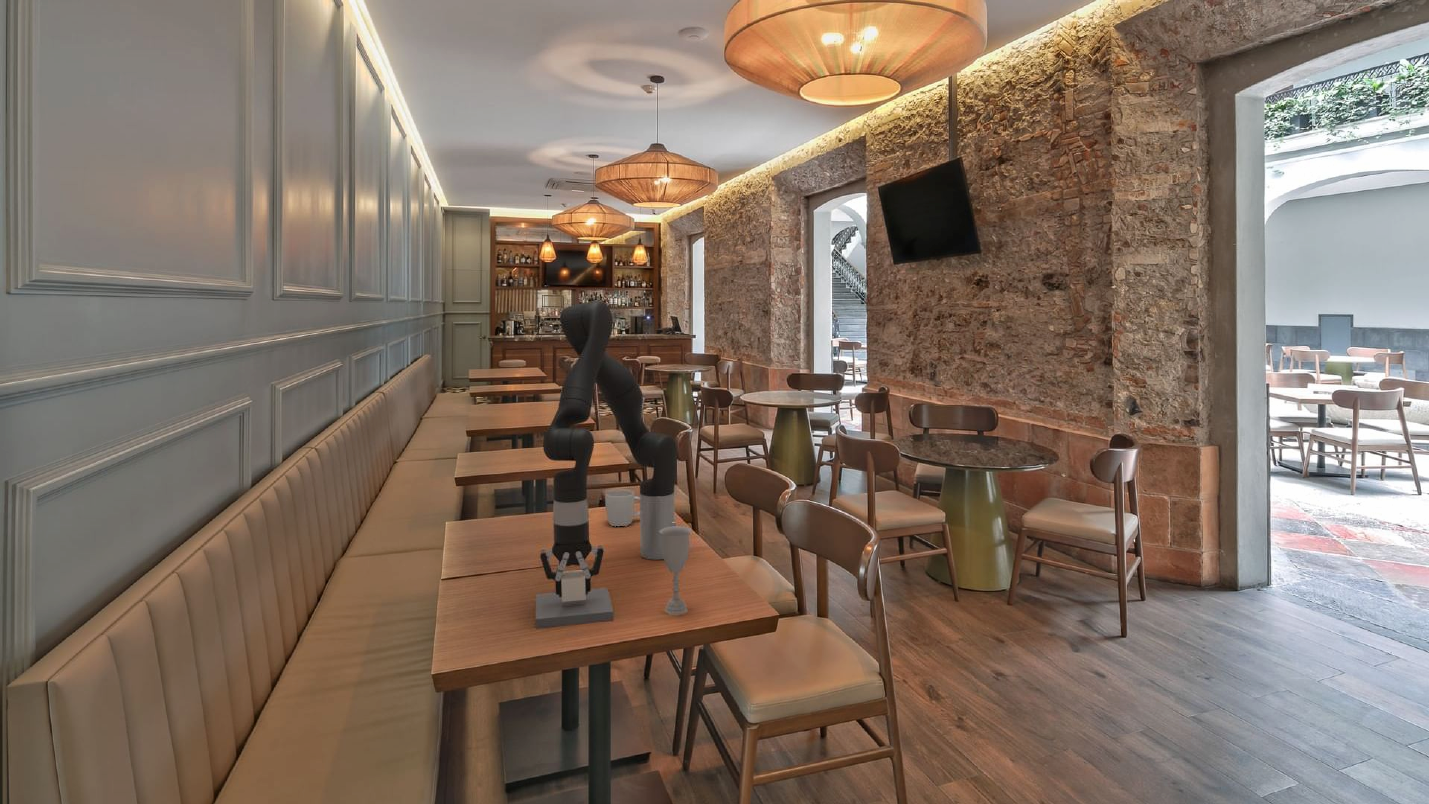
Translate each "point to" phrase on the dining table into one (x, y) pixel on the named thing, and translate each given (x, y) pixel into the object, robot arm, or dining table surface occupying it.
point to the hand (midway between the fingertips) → (573, 594)
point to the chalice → (675, 561)
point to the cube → (573, 586)
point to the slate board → (573, 609)
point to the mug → (620, 507)
